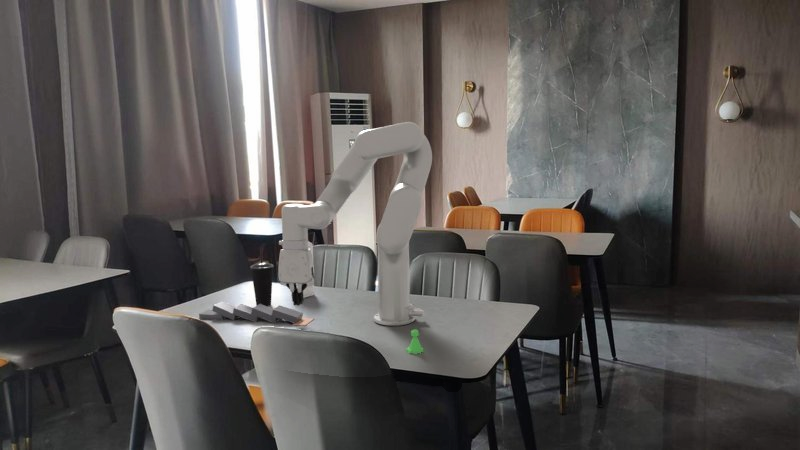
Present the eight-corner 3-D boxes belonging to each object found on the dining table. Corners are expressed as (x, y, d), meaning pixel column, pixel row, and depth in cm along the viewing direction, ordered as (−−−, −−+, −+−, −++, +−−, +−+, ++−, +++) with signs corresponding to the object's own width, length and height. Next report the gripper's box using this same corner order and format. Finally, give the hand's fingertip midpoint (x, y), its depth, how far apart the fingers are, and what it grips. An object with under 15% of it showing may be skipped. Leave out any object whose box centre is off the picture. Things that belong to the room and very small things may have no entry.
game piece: (403, 351, 157) (403, 329, 156) (414, 347, 160) (414, 325, 159) (415, 355, 154) (415, 332, 153) (426, 351, 157) (426, 328, 156)
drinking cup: (269, 308, 200) (266, 249, 197) (248, 307, 201) (245, 249, 199) (278, 302, 207) (276, 245, 205) (258, 301, 209) (255, 245, 206)
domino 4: (282, 312, 188) (260, 303, 189) (276, 317, 183) (252, 307, 184) (281, 318, 188) (258, 309, 190) (274, 323, 184) (251, 313, 185)
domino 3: (264, 311, 189) (241, 303, 191) (257, 316, 185) (233, 308, 186) (262, 317, 190) (240, 309, 191) (255, 322, 185) (232, 314, 186)
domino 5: (303, 312, 186) (279, 305, 188) (297, 317, 182) (272, 309, 183) (301, 318, 187) (278, 311, 188) (295, 323, 182) (271, 315, 183)
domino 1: (230, 311, 193) (208, 309, 195) (221, 315, 188) (199, 313, 190) (230, 317, 193) (208, 315, 195) (222, 321, 188) (199, 320, 190)
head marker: (313, 319, 187) (313, 318, 187) (305, 325, 180) (305, 325, 180) (301, 318, 188) (301, 317, 188) (292, 325, 181) (292, 324, 181)
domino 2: (243, 310, 191) (222, 301, 193) (235, 314, 187) (213, 305, 189) (242, 316, 192) (221, 306, 194) (233, 320, 187) (212, 310, 189)
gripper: (267, 246, 179) (270, 306, 182) (314, 247, 176) (316, 308, 178) (278, 242, 186) (280, 300, 189) (323, 243, 183) (325, 302, 185)
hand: (298, 304), depth 184 cm, fingers closed
